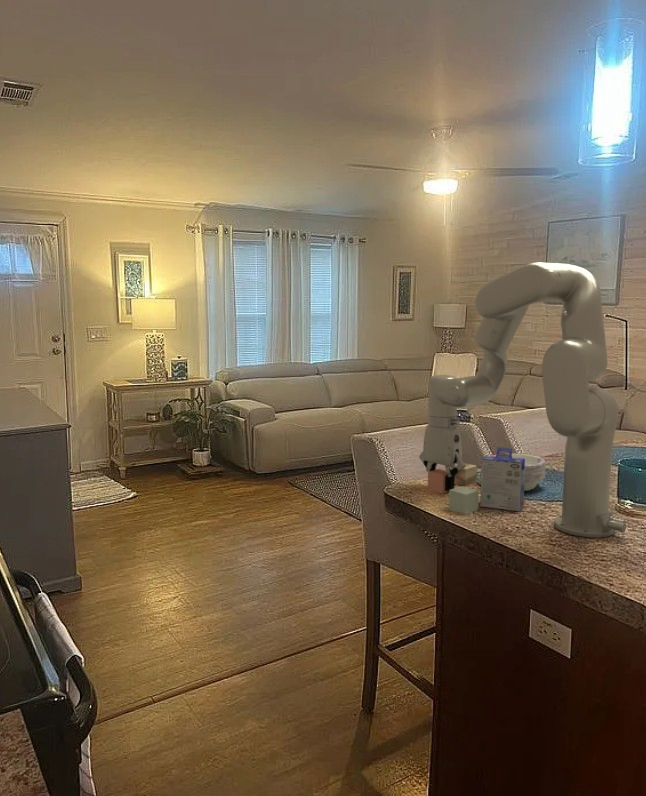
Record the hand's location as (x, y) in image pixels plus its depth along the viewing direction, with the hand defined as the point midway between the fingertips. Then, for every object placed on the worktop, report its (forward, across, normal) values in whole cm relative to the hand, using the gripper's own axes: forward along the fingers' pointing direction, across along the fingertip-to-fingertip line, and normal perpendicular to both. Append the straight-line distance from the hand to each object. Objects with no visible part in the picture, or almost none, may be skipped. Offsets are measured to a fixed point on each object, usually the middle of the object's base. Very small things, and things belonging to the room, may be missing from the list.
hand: (441, 487), depth 171 cm
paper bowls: (+1, -12, -17) cm, 21 cm away
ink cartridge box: (+1, -19, 0) cm, 19 cm away
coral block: (+1, 0, 0) cm, 1 cm away
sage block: (+1, -14, +9) cm, 17 cm away
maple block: (+1, 0, -10) cm, 10 cm away
